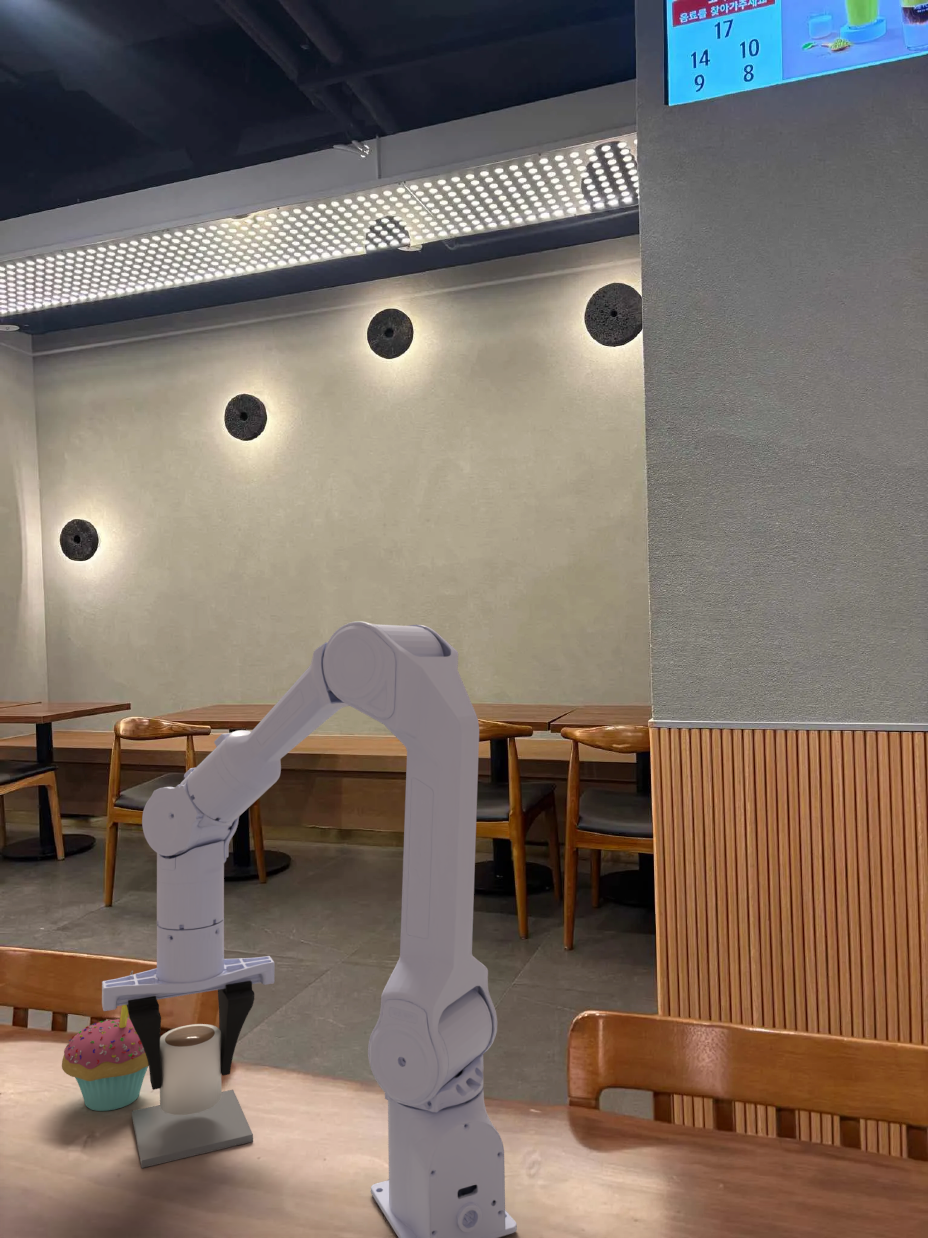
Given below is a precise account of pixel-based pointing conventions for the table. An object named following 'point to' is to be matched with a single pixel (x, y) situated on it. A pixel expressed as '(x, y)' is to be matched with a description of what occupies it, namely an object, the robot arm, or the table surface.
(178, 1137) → the coaster
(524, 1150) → the table surface
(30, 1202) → the table surface
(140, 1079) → the cupcake
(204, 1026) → the cup
